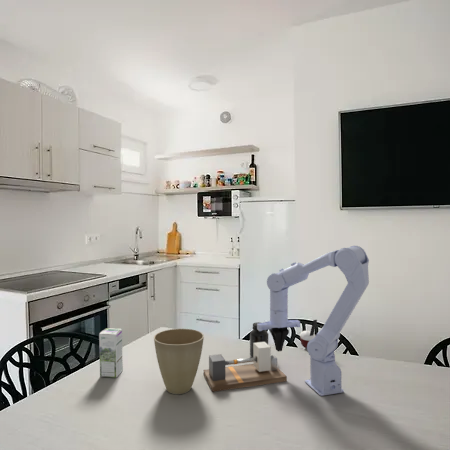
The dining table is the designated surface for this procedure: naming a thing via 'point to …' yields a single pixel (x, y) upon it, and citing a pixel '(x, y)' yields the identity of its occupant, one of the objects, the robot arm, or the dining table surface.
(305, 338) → the cocoa
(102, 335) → the syrup box
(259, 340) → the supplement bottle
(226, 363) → the rail
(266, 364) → the sleeve
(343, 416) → the dining table surface
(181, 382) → the plant pot
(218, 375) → the block
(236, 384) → the board
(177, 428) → the dining table surface
